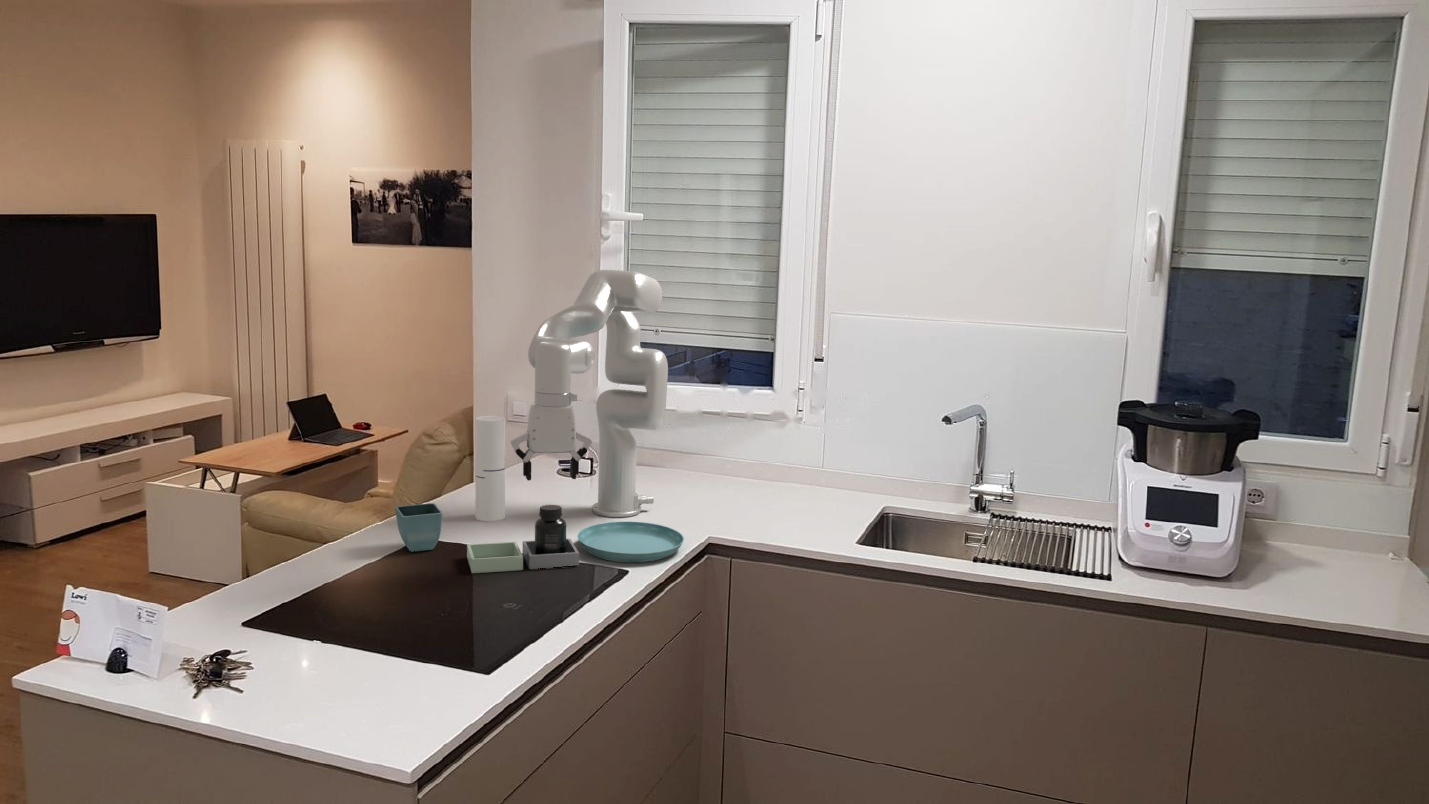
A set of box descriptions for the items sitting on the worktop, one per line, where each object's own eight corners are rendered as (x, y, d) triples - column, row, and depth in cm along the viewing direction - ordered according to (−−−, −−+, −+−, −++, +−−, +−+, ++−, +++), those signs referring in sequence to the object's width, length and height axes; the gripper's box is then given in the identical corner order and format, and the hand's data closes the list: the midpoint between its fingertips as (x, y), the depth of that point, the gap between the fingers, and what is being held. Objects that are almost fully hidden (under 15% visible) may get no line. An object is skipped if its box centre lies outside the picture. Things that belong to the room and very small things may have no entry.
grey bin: (569, 551, 237) (570, 538, 236) (578, 566, 227) (579, 553, 226) (522, 554, 234) (522, 541, 233) (529, 569, 224) (529, 555, 223)
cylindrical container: (501, 521, 257) (501, 421, 253) (472, 520, 258) (472, 420, 253) (507, 514, 265) (508, 416, 260) (479, 512, 265) (479, 415, 260)
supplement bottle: (571, 558, 232) (572, 505, 230) (557, 567, 226) (557, 513, 224) (543, 553, 234) (544, 501, 232) (528, 562, 228) (529, 509, 226)
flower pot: (402, 556, 229) (402, 516, 227) (395, 544, 237) (394, 506, 235) (443, 552, 233) (443, 512, 232) (434, 540, 241) (434, 502, 239)
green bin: (516, 554, 233) (516, 541, 233) (522, 570, 223) (522, 556, 223) (467, 557, 230) (467, 544, 229) (471, 573, 220) (471, 559, 219)
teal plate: (604, 572, 224) (605, 558, 224) (560, 541, 245) (561, 527, 244) (702, 558, 237) (703, 544, 236) (653, 529, 257) (653, 516, 257)
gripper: (588, 397, 230) (587, 473, 233) (509, 397, 225) (508, 475, 228) (596, 402, 223) (593, 481, 226) (513, 403, 218) (512, 483, 221)
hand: (550, 478), depth 227 cm, fingers open, 9 cm apart
